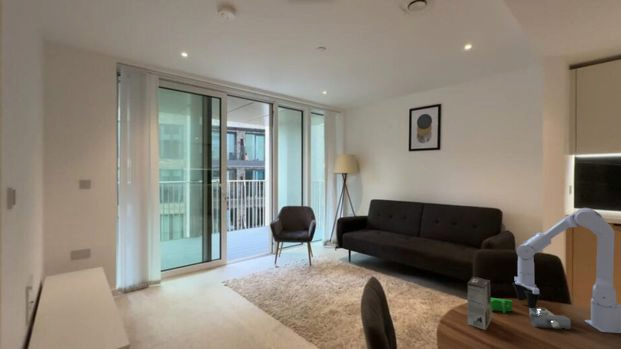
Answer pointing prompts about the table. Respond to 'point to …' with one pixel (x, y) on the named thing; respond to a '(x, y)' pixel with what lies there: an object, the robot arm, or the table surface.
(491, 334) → the table surface
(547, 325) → the end block
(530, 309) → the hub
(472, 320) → the coffee box
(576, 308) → the table surface
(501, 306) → the pipe clamp
